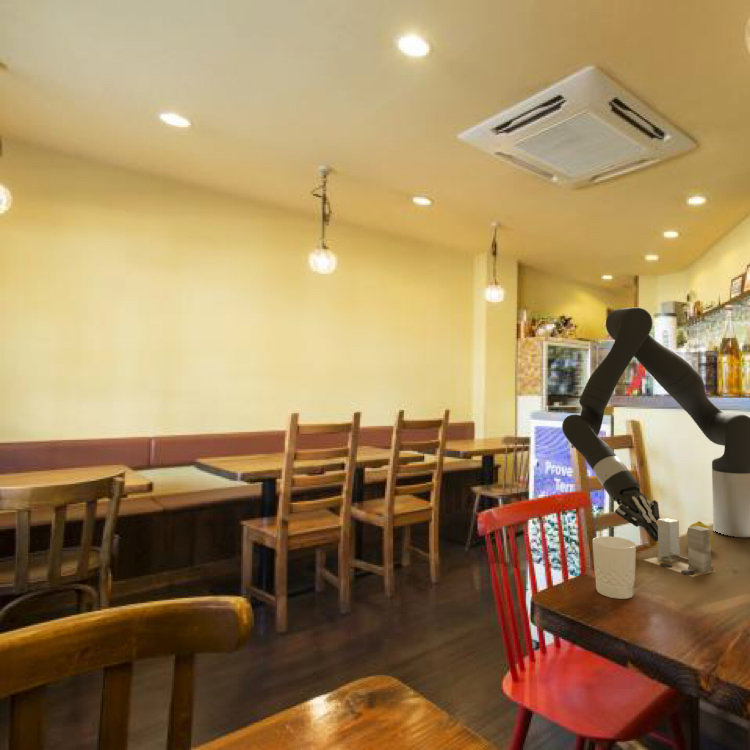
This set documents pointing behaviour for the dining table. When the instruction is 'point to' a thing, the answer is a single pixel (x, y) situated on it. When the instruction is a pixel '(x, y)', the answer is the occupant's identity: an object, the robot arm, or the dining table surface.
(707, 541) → the gauge board
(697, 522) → the lemon
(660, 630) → the dining table surface
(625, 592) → the white cup
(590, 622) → the dining table surface
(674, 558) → the block
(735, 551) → the dining table surface
